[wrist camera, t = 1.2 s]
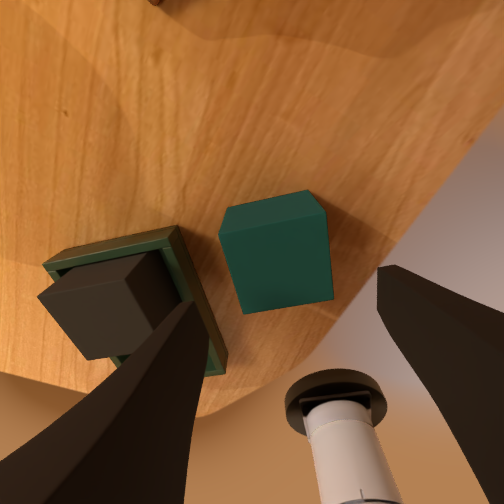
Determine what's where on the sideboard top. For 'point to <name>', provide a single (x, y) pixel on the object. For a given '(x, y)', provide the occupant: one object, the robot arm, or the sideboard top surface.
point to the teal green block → (278, 252)
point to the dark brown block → (112, 303)
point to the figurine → (154, 2)
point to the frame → (179, 271)
